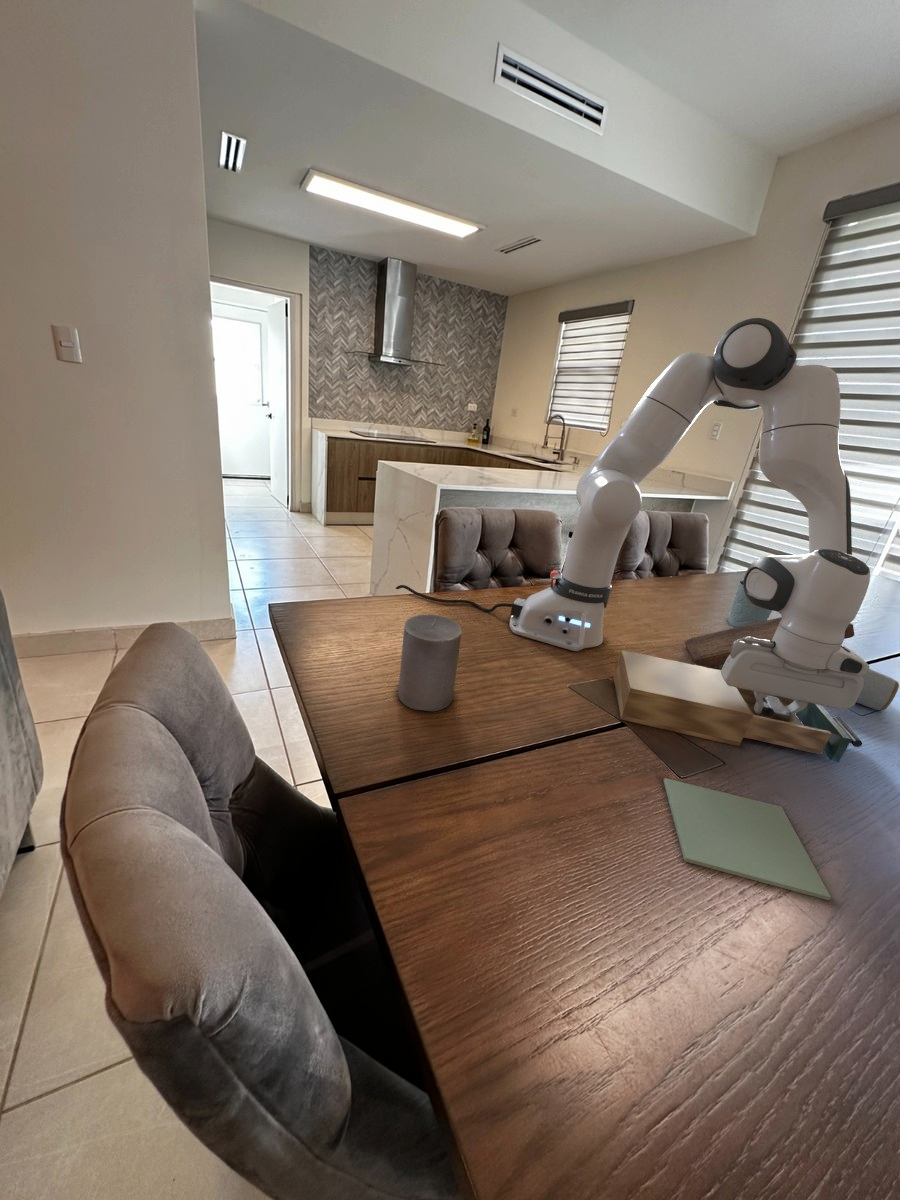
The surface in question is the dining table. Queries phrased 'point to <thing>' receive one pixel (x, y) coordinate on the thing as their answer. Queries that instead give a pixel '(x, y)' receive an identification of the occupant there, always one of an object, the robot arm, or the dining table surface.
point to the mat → (741, 838)
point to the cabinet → (680, 698)
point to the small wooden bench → (719, 644)
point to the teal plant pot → (746, 610)
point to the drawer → (802, 729)
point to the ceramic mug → (877, 690)
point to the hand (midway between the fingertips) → (771, 715)
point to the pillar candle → (429, 662)
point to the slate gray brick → (776, 709)
